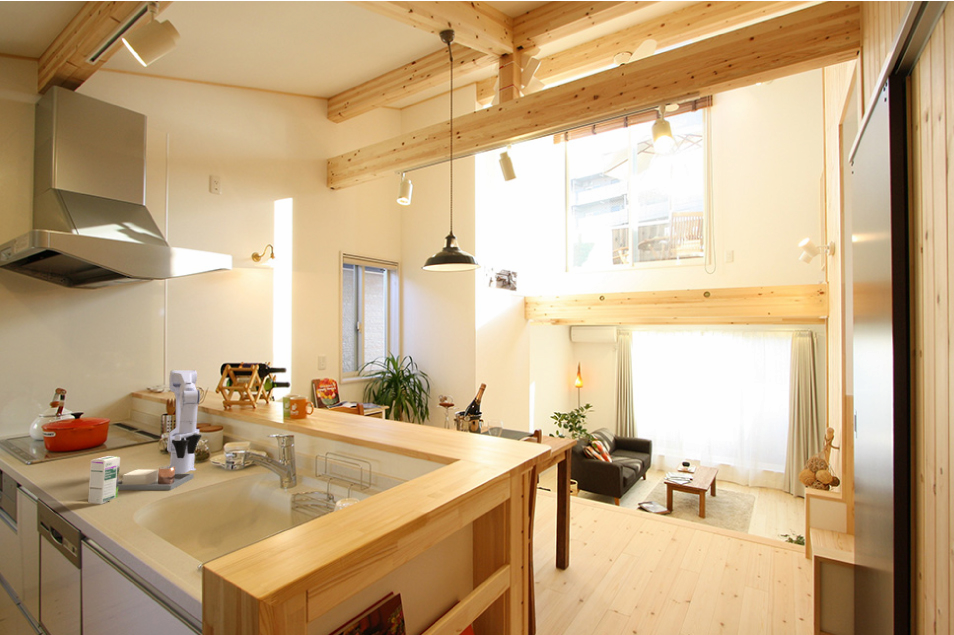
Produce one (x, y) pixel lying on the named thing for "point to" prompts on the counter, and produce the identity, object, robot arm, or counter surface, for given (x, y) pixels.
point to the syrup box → (104, 479)
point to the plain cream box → (140, 477)
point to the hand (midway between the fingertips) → (185, 455)
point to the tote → (178, 481)
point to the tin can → (166, 475)
